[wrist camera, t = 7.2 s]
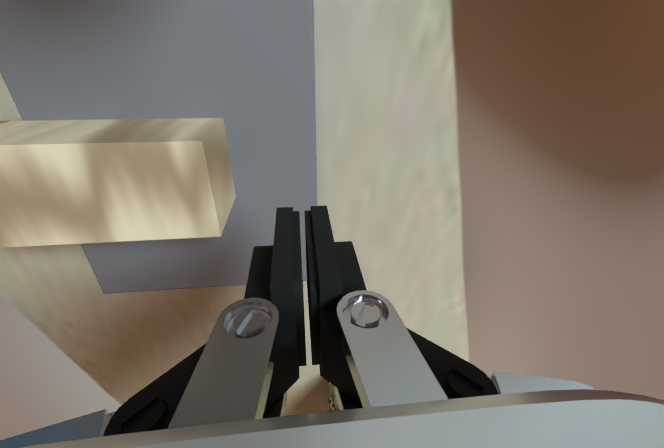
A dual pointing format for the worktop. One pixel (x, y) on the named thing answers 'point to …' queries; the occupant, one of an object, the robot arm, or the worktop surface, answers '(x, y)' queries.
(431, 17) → the worktop surface
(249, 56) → the rubber mat
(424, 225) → the worktop surface
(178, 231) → the maple block
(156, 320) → the worktop surface
